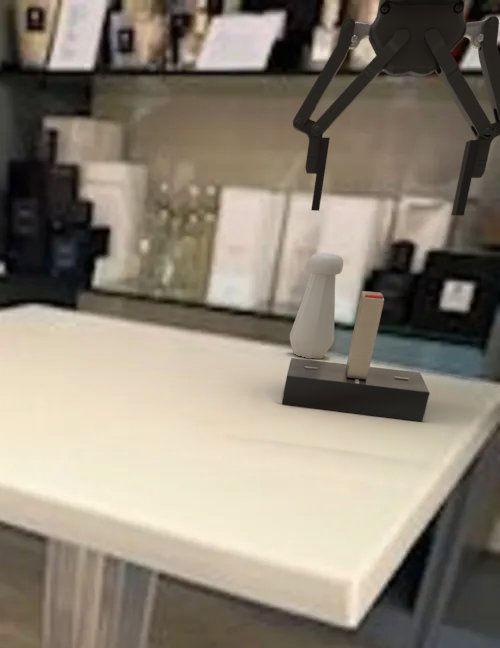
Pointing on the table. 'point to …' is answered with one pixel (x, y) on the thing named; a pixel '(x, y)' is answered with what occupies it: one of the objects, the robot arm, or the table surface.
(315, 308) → the salt shaker
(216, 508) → the table surface
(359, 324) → the beige rectangular block
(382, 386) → the rectangular base
